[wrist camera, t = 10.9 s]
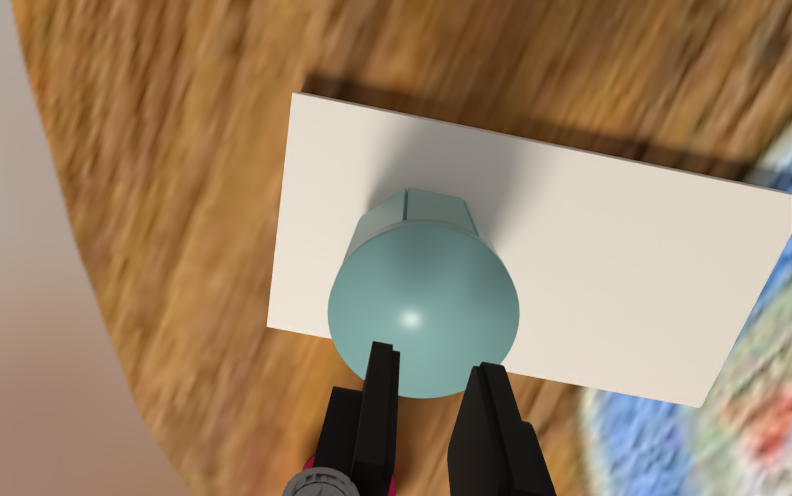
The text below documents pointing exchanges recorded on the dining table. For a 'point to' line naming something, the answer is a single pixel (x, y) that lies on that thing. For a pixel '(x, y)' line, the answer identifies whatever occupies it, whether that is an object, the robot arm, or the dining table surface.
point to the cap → (423, 293)
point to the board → (542, 242)
